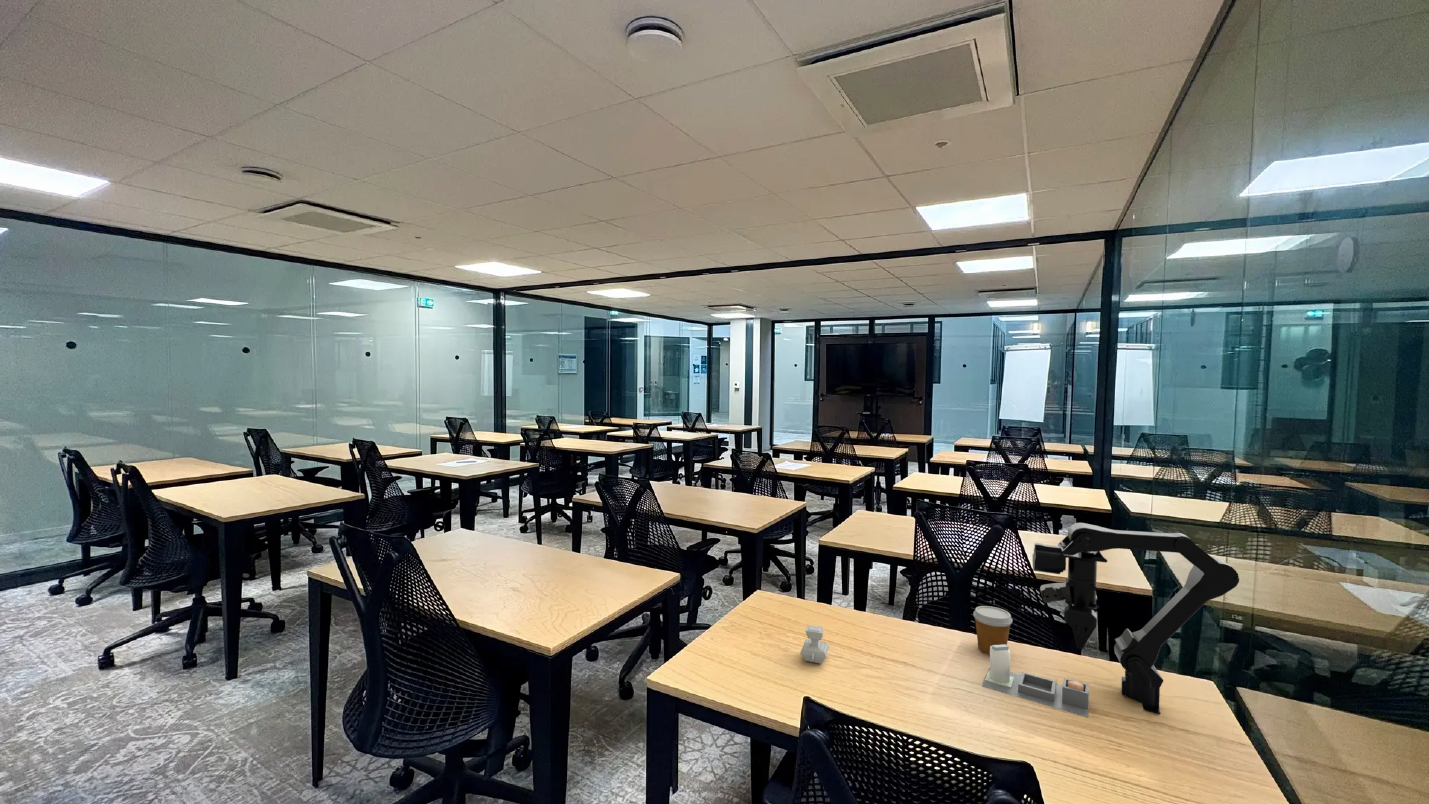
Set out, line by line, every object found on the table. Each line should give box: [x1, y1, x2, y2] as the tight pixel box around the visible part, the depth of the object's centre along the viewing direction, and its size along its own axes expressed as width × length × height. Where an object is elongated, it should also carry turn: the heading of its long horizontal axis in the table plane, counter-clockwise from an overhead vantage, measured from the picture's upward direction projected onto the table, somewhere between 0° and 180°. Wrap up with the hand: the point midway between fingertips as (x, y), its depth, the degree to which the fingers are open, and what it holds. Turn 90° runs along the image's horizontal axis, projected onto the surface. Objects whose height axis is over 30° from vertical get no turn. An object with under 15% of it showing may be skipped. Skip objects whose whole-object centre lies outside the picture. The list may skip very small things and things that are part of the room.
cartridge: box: [989, 644, 1011, 683], centre depth 134 cm, size 4×4×8 cm
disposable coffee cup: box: [972, 605, 1013, 656], centre depth 150 cm, size 10×10×12 cm
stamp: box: [800, 624, 830, 665], centre depth 146 cm, size 9×7×8 cm
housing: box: [981, 666, 1090, 718], centre depth 130 cm, size 21×12×5 cm, turn 55°
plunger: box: [1068, 680, 1084, 691], centre depth 125 cm, size 3×3×3 cm
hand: (1080, 641), depth 132 cm, fingers open, 9 cm apart
